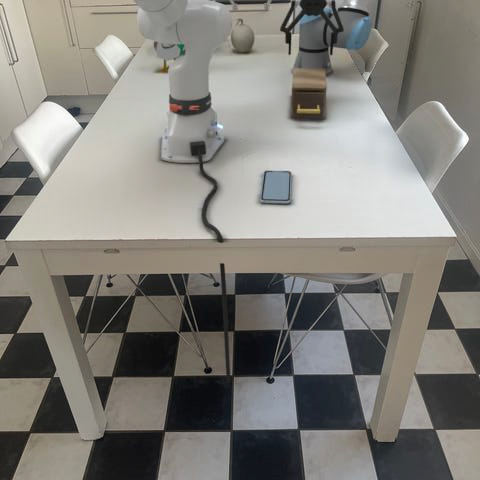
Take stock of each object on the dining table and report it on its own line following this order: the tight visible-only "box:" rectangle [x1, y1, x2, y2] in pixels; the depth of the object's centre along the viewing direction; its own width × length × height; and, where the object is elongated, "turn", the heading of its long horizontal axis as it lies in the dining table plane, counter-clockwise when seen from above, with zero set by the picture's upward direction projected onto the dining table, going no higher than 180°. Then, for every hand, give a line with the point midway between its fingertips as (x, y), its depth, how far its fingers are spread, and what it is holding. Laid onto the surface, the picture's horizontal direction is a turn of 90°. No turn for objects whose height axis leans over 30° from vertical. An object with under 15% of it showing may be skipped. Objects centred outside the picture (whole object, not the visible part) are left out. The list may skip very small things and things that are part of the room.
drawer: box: [292, 90, 325, 120], centre depth 167 cm, size 24×10×8 cm, turn 174°
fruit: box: [230, 18, 255, 53], centre depth 228 cm, size 10×12×15 cm
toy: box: [153, 41, 186, 73], centre depth 204 cm, size 8×20×24 cm, turn 69°
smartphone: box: [259, 169, 293, 205], centre depth 129 cm, size 7×1×15 cm
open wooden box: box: [290, 67, 328, 120], centre depth 172 cm, size 20×11×10 cm, turn 174°
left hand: (250, 10), depth 153 cm, fingers open, 8 cm apart
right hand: (310, 54), depth 170 cm, fingers open, 13 cm apart
